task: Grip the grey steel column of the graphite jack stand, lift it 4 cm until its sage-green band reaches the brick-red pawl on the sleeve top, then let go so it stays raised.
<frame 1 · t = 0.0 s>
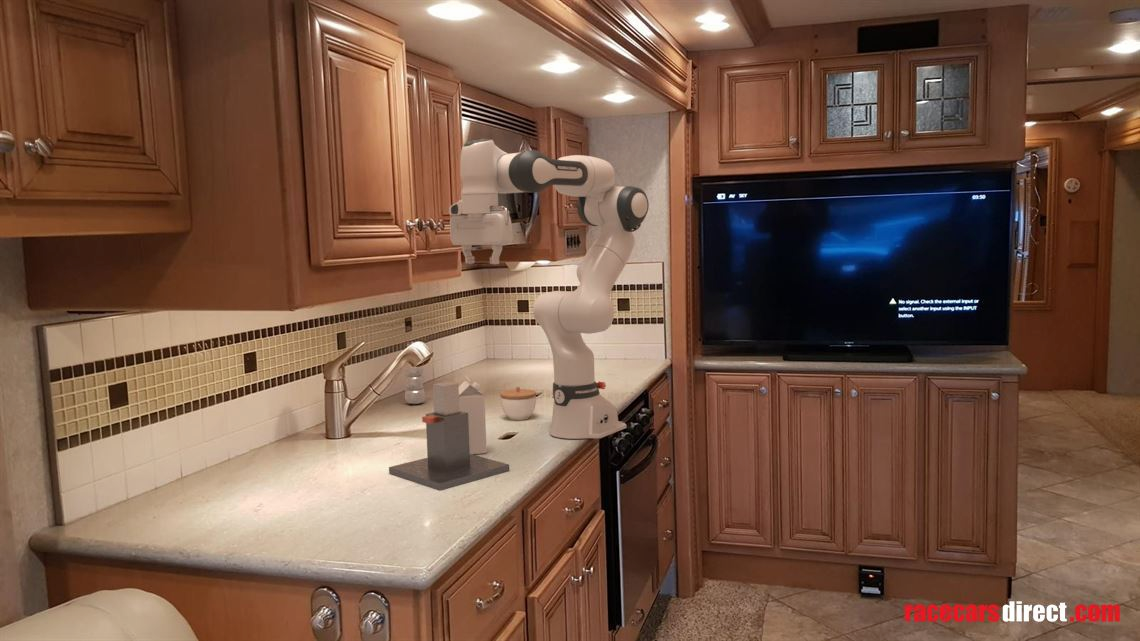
hand: (482, 264, 213), 48 cm above the counter, fingers open, 8 cm apart
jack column: (447, 421, 204), point 12 cm above the counter, slide at 0.0 cm
milk carton: (470, 452, 223), on the counter
lidded jar: (518, 418, 261), on the counter
plastic bottle: (415, 404, 286), on the counter
jack base: (449, 472, 205), on the counter
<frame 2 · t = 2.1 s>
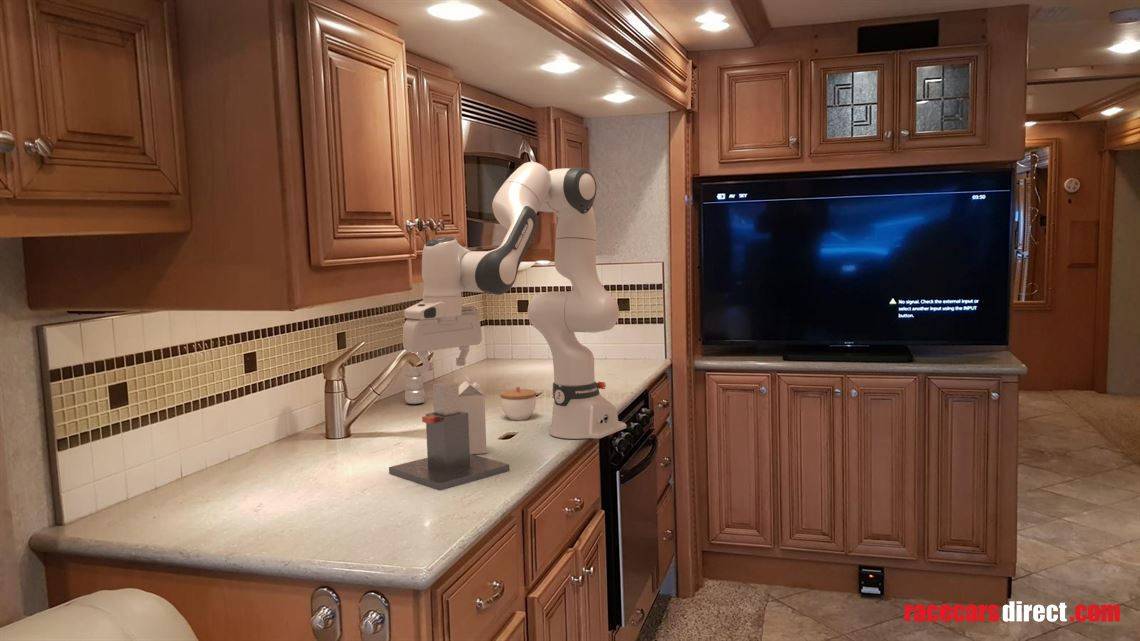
hand: (444, 367, 202), 25 cm above the counter, fingers open, 8 cm apart
nothing on the counter moved.
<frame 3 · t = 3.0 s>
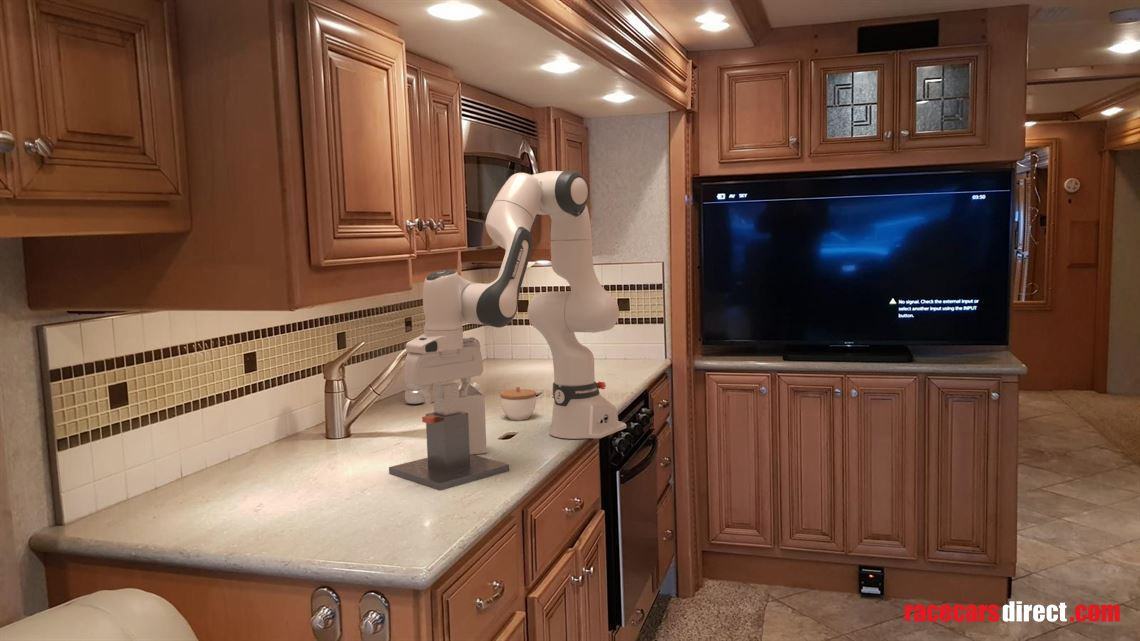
hand: (446, 400, 203), 17 cm above the counter, fingers open, 8 cm apart
nothing on the counter moved.
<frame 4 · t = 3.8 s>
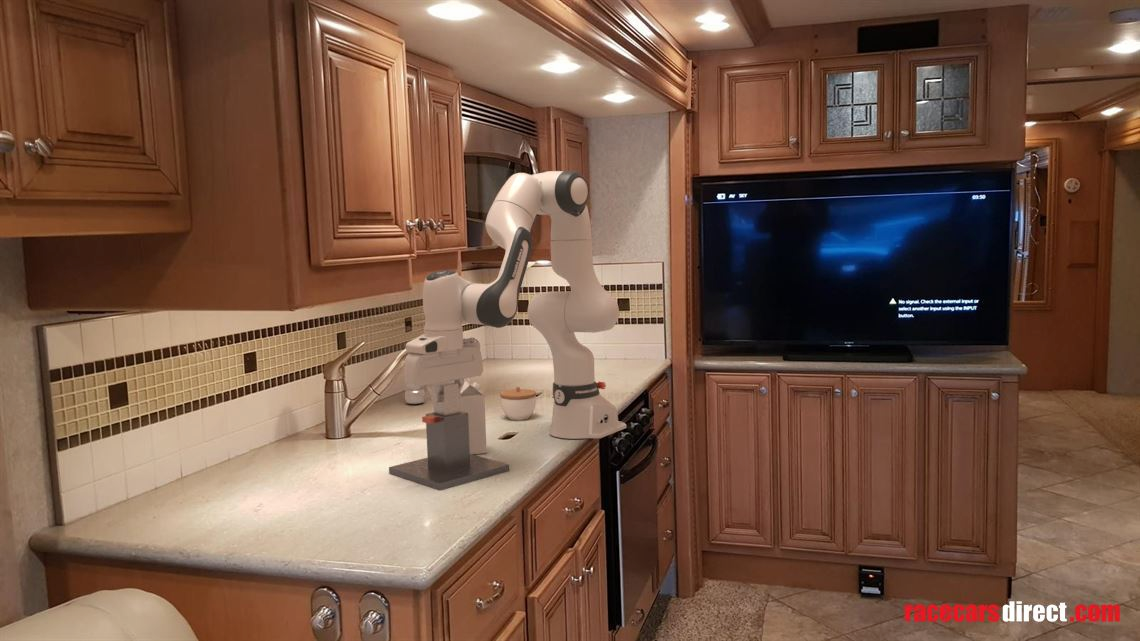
hand: (446, 400, 203), 17 cm above the counter, fingers closed on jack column, 4 cm apart
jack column: (447, 421, 204), point 12 cm above the counter, slide at 0.0 cm, touching gripper
everything else where it was.
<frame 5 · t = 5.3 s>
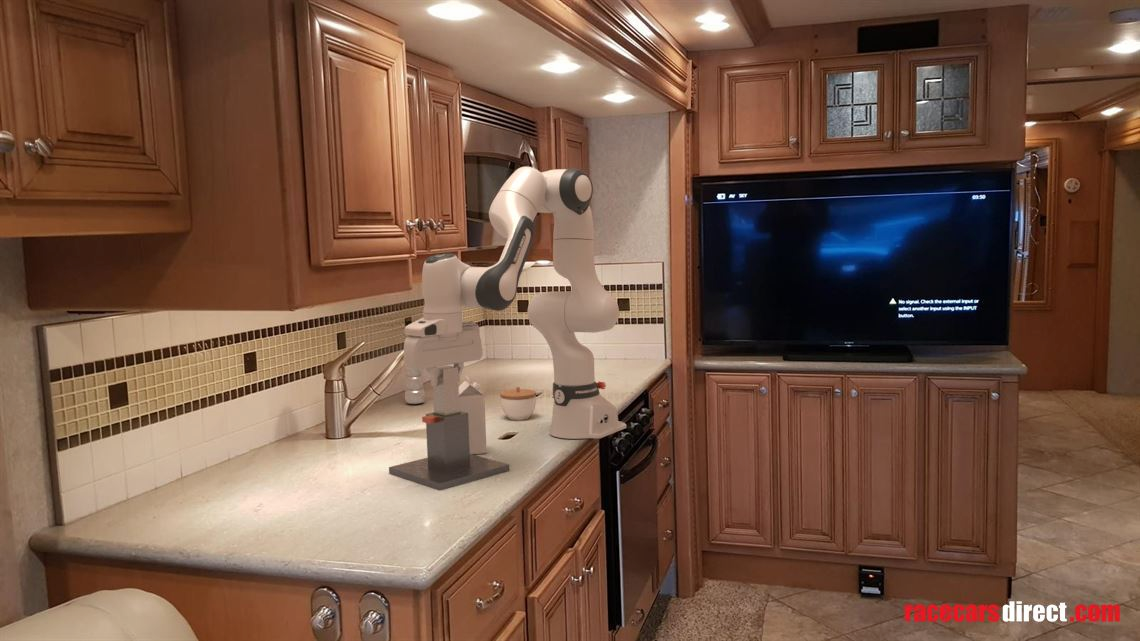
hand: (445, 383, 203), 21 cm above the counter, fingers closed on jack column, 4 cm apart
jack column: (446, 405, 203), point 16 cm above the counter, slide at 3.8 cm, touching gripper
everything else where it was.
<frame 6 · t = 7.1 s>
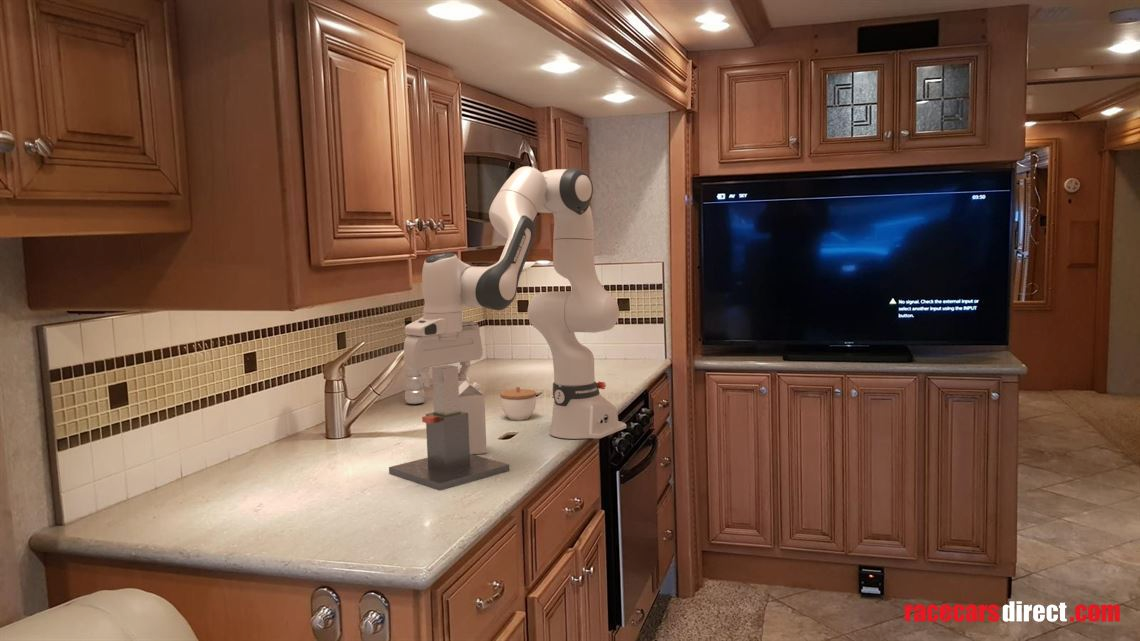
hand: (445, 383, 203), 21 cm above the counter, fingers open, 8 cm apart
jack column: (446, 405, 203), point 16 cm above the counter, slide at 3.9 cm
everything else where it was.
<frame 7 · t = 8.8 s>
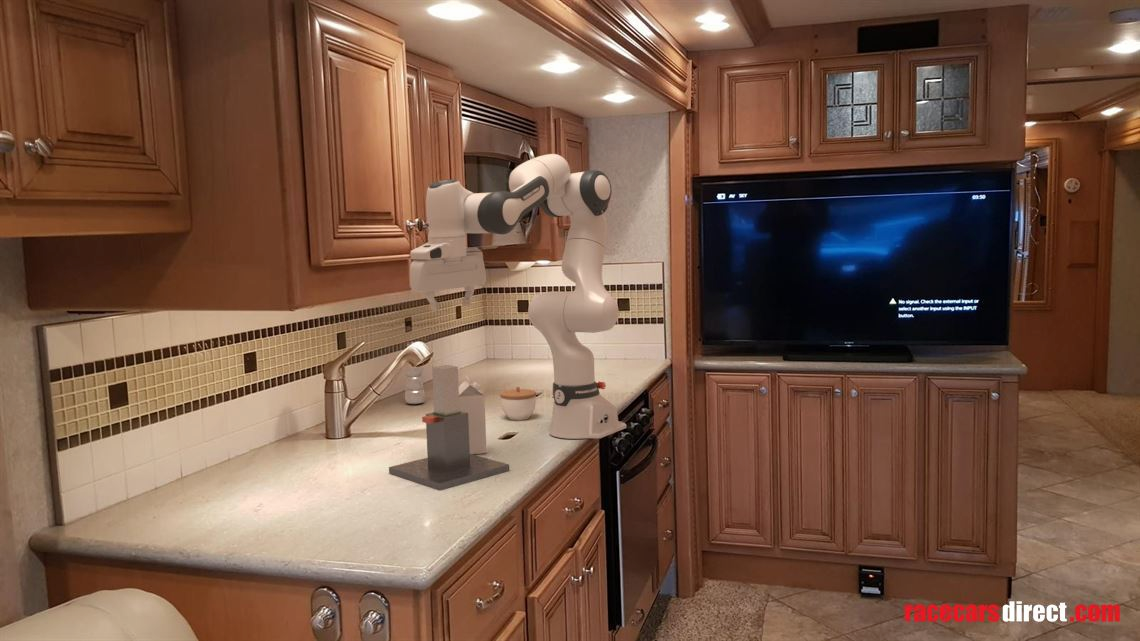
hand: (451, 307, 207), 38 cm above the counter, fingers open, 8 cm apart
nothing on the counter moved.
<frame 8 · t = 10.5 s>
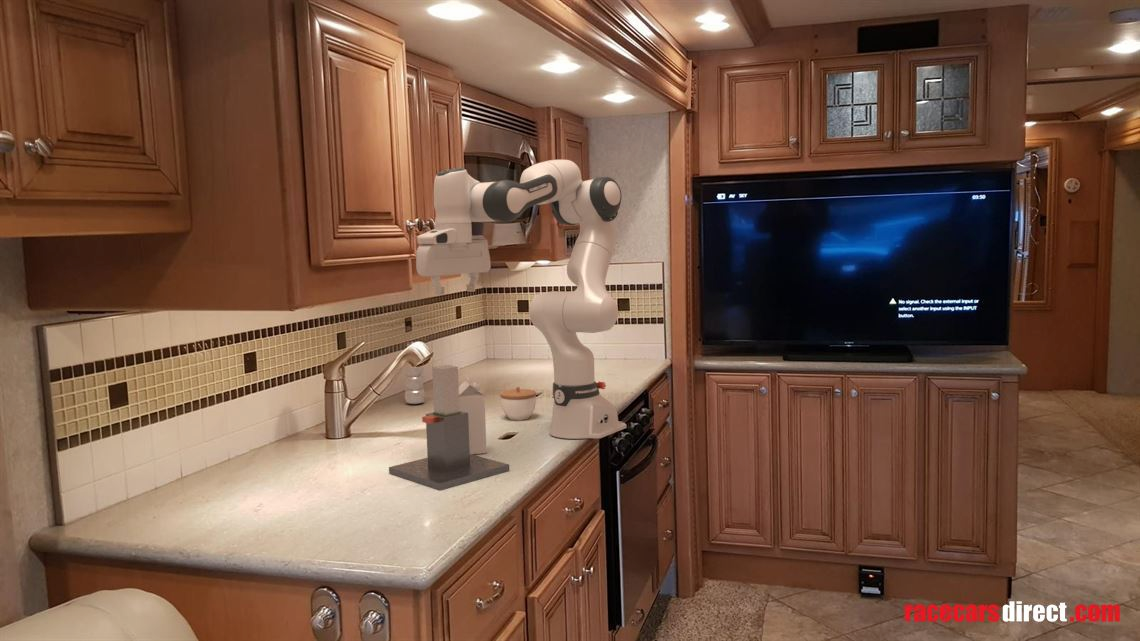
hand: (455, 293, 213), 41 cm above the counter, fingers open, 8 cm apart
nothing on the counter moved.
at the end: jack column slide at 3.9 cm; the gripper is holding nothing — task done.
